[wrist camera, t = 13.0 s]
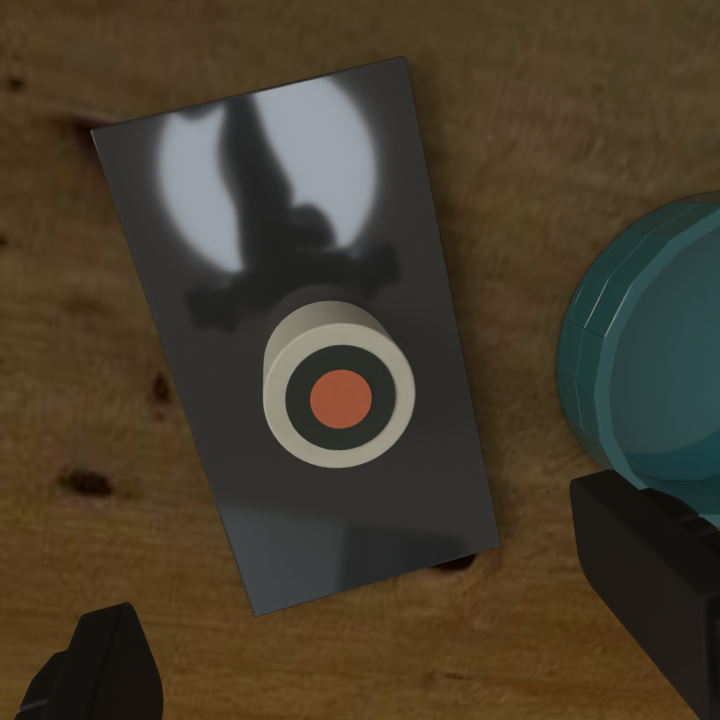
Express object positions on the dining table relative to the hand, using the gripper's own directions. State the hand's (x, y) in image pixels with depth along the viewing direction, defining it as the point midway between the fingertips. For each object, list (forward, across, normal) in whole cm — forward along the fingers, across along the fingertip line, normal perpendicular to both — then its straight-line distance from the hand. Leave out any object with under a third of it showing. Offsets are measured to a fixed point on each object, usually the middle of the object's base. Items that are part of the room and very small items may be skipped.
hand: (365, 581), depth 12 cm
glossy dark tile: (+15, -1, 0) cm, 15 cm away
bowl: (+15, -17, +4) cm, 23 cm away
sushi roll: (+14, -1, 0) cm, 14 cm away
